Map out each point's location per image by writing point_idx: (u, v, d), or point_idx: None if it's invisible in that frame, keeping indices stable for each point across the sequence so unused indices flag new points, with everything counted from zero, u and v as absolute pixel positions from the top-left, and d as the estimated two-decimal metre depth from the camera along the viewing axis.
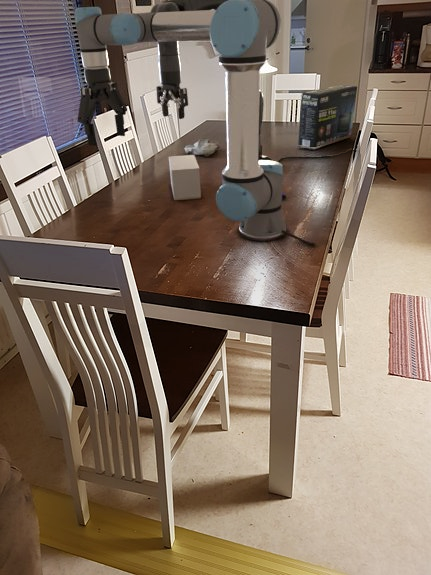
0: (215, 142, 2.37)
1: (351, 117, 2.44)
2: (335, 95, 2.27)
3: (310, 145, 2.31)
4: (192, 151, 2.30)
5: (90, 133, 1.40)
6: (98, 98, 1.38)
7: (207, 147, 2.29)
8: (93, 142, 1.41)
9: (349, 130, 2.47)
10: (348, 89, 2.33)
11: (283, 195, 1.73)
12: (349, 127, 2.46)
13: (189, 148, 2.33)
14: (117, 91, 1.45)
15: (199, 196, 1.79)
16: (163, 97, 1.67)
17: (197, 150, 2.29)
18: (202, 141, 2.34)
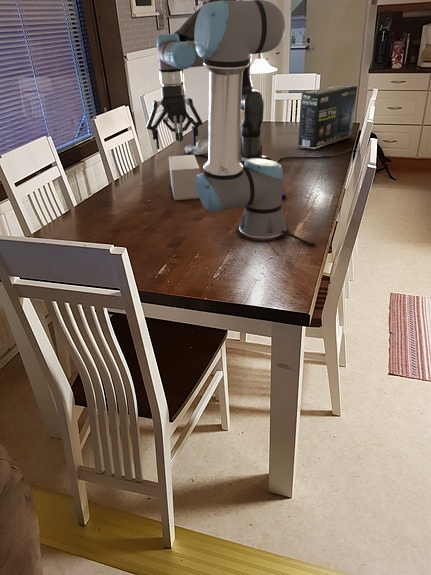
0: None
1: (351, 117, 2.44)
2: (335, 95, 2.27)
3: (310, 145, 2.31)
4: (192, 151, 2.30)
5: (154, 138, 1.66)
6: (165, 110, 1.61)
7: (207, 147, 2.29)
8: (157, 146, 1.67)
9: (349, 130, 2.47)
10: (348, 89, 2.33)
11: (283, 195, 1.73)
12: (349, 127, 2.46)
13: (189, 148, 2.33)
14: (192, 106, 1.63)
15: None
16: (175, 123, 1.86)
17: (197, 150, 2.29)
18: (202, 141, 2.34)
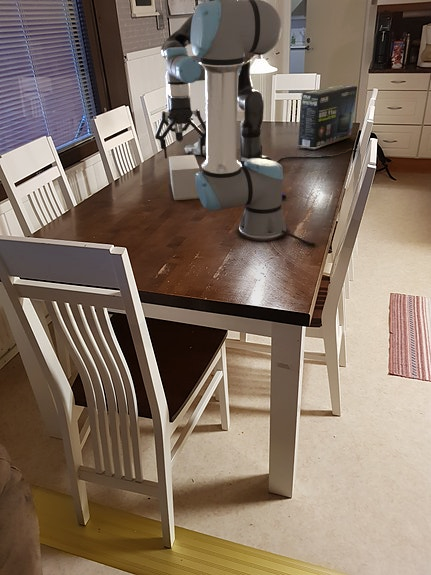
0: None
1: (351, 117, 2.44)
2: (335, 95, 2.27)
3: (310, 145, 2.31)
4: (192, 151, 2.30)
5: (162, 148, 1.71)
6: (173, 121, 1.65)
7: None
8: None
9: (349, 130, 2.47)
10: (348, 89, 2.33)
11: (283, 195, 1.73)
12: (349, 127, 2.46)
13: (189, 148, 2.33)
14: (199, 117, 1.66)
15: None
16: (175, 123, 1.86)
17: (197, 150, 2.29)
18: None
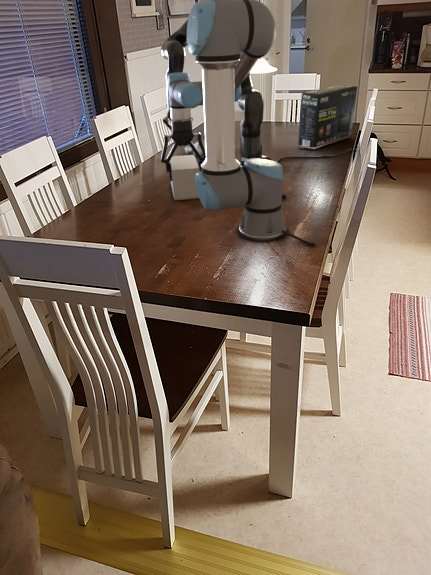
0: None
1: (351, 117, 2.44)
2: (335, 95, 2.27)
3: (310, 145, 2.31)
4: (192, 151, 2.30)
5: (168, 171, 1.75)
6: (176, 144, 1.69)
7: None
8: (170, 178, 1.76)
9: (349, 130, 2.47)
10: (348, 89, 2.33)
11: (283, 195, 1.73)
12: (349, 127, 2.46)
13: (189, 148, 2.33)
14: (199, 141, 1.71)
15: None
16: None
17: (197, 150, 2.29)
18: (202, 141, 2.34)
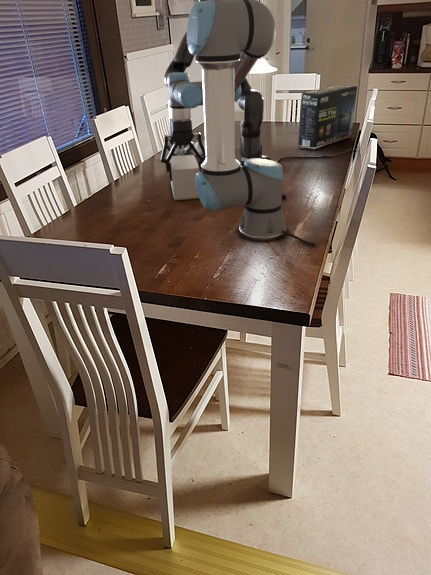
0: None
1: (351, 117, 2.44)
2: (335, 95, 2.27)
3: (310, 145, 2.31)
4: (192, 151, 2.30)
5: (168, 170, 1.75)
6: (176, 144, 1.69)
7: None
8: (170, 178, 1.76)
9: (349, 130, 2.47)
10: (348, 89, 2.33)
11: (283, 195, 1.73)
12: (349, 127, 2.46)
13: None
14: (199, 141, 1.71)
15: None
16: (177, 149, 1.92)
17: (197, 150, 2.29)
18: (202, 141, 2.34)
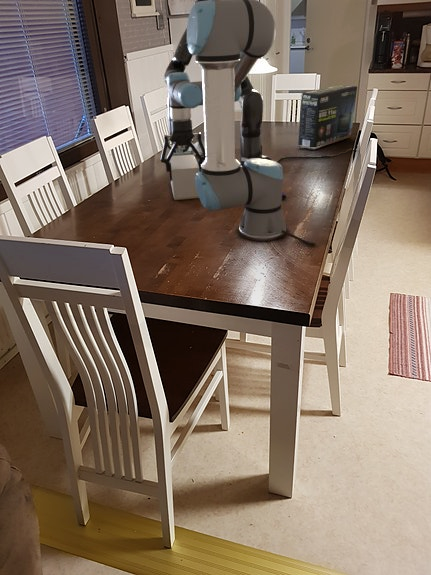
0: None
1: (351, 117, 2.44)
2: (335, 95, 2.27)
3: (310, 145, 2.31)
4: (192, 151, 2.30)
5: (168, 170, 1.75)
6: (176, 144, 1.70)
7: None
8: (170, 177, 1.77)
9: (349, 130, 2.47)
10: (348, 89, 2.33)
11: (283, 195, 1.73)
12: (349, 127, 2.46)
13: (189, 148, 2.33)
14: (199, 141, 1.71)
15: None
16: None
17: None
18: (202, 141, 2.34)
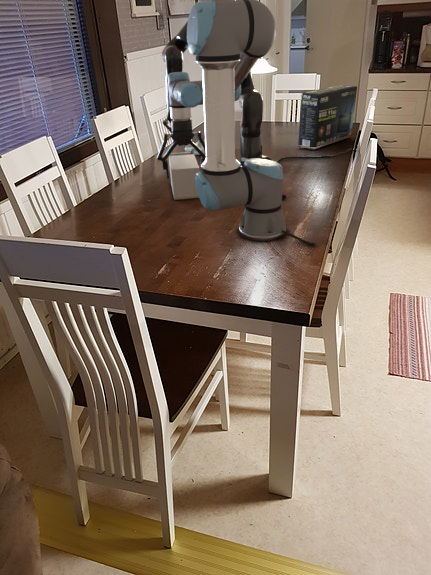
0: None
1: (351, 117, 2.44)
2: (335, 95, 2.27)
3: (310, 145, 2.31)
4: (192, 151, 2.30)
5: (164, 168, 1.74)
6: (175, 143, 1.69)
7: None
8: None
9: (349, 130, 2.47)
10: (348, 89, 2.33)
11: (283, 195, 1.73)
12: (349, 127, 2.46)
13: (189, 148, 2.33)
14: (200, 139, 1.70)
15: None
16: None
17: None
18: None
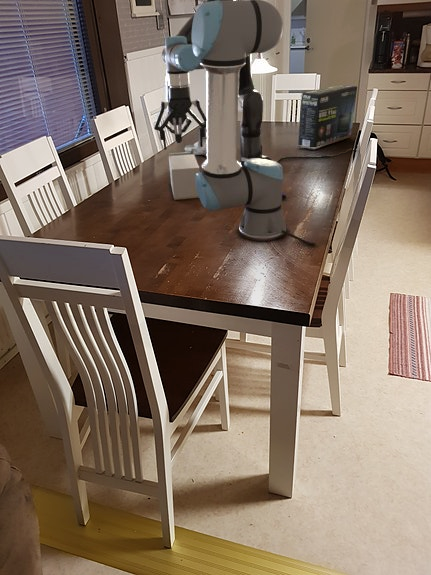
0: None
1: (351, 117, 2.44)
2: (335, 95, 2.27)
3: (310, 145, 2.31)
4: (192, 151, 2.30)
5: (162, 139, 1.69)
6: (173, 112, 1.64)
7: None
8: (164, 146, 1.70)
9: (349, 130, 2.47)
10: (348, 89, 2.33)
11: (283, 195, 1.73)
12: (349, 127, 2.46)
13: (189, 148, 2.33)
14: (199, 108, 1.65)
15: None
16: (175, 125, 1.92)
17: (197, 150, 2.29)
18: (202, 141, 2.34)
